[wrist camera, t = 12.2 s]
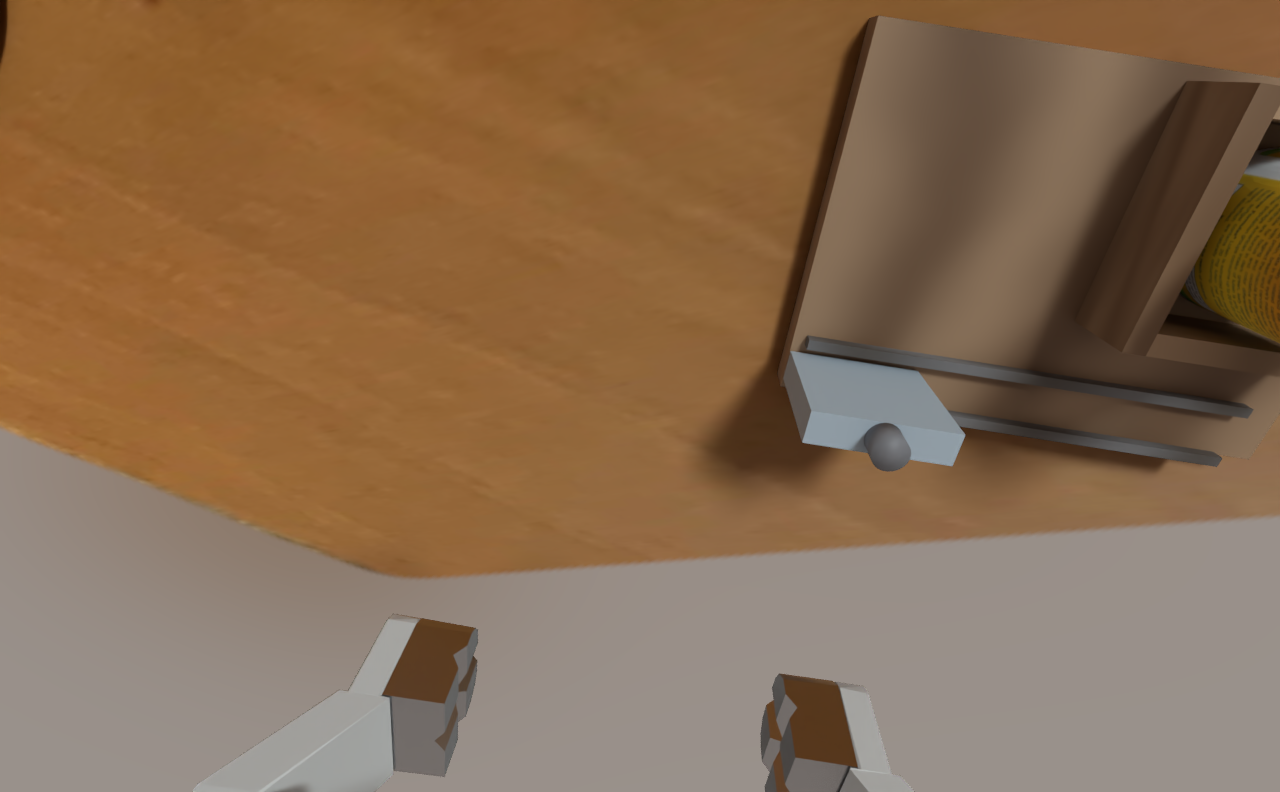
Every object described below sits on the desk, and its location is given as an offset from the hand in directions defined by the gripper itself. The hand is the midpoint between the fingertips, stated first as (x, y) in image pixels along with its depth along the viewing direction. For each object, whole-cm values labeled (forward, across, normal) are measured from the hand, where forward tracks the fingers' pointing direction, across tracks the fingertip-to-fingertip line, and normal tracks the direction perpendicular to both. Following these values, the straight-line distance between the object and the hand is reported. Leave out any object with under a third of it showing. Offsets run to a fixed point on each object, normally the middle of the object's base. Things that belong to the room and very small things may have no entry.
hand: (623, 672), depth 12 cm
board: (+17, -15, -5) cm, 23 cm away
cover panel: (+16, -8, 0) cm, 17 cm away
